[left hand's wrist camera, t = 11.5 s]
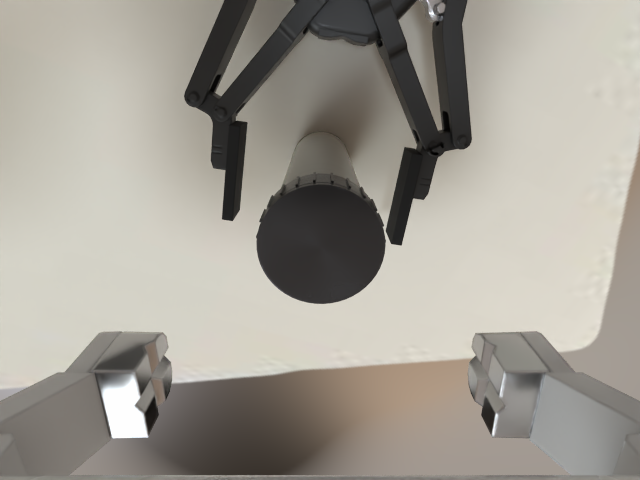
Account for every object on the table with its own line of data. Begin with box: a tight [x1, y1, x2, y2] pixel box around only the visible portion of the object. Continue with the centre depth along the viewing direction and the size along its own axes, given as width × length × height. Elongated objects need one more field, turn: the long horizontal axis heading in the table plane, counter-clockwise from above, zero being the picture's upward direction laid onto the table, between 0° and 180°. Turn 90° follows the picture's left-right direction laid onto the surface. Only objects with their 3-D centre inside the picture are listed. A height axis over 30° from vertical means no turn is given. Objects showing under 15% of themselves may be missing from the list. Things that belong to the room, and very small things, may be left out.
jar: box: [281, 132, 360, 188], centre depth 26 cm, size 5×5×19 cm
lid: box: [256, 172, 386, 304], centre depth 18 cm, size 5×5×2 cm
